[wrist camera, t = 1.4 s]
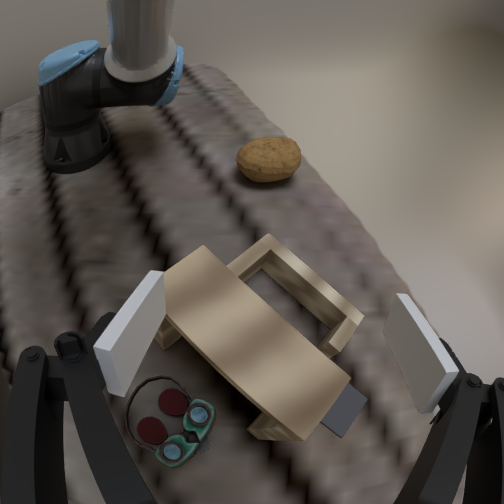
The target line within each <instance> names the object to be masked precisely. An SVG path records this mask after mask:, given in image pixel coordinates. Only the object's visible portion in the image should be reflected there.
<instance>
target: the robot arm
mask: <svg viewBox="0 0 504 504" xmlns="http://www.w3.org/2000/svg"><path fill="white" fill-rule="evenodd" d="M105 3H106V12H107V19H108V27H109V34H110V40H111V43H110V44H109V46H108V47H107V48H100V44H99V42H98V41H97V40H87V41H83V42H78V43H75V44H72V45H69V46H66V47H64V48H61V49H59V50H57V51H55V52H53V53H52V54H50V55H48V56H47V57H46V58H45V59H43V61H42V62H41V63H40V65H39V69H38V75H39V76H38V78H39V83H38V86H39V90H40V97H41V103H42V109H43V115H44V120H45V126H46V132H45V141H44V150H43V155H44V159H45V163H46V166H47V167H48V168H49V169H50V170H52V171H54V172H57V173H73V172H78V171H81V170H84V169H87V168H89V167H91V166H93V165H95V164H96V163H98V162H99V161H101V160H102V159H103V158H104V157H105V156H106V155H107V153H108V152H109V150H110V146H111V142H110V134H109V131H108V129H107V127H106V125H105V123H104V120H103V118H102V116H101V114H100V108H105V107H119V106H145V105H149V106H156V105H166V104H169V103H170V102H172V101H173V99H174V98H175V96H176V93H177V90H178V87H179V81H180V78H181V75H182V69H183V62H184V50H183V48H182V47H181V46H177V45H176V44H175V41H174V39H173V38H172V37H171V36H170V35H169V34H170V27H171V21H172V15H173V9H174V3H175V0H105ZM165 315H166V304H165V290H164V273H163V272H160V271H152V270H150V272H149V273H148V274H147V275H146V277H145V278H144V279H143V281H142V282H141V283H140V284H139V286H138V287H137V288H136V289H135V291H134V292H133V293H132V295H131V296H130V297H129V298H128V300H127V301H126V302H125V304H124V305H123V306H122V308H121V309H120V310H119V312H118V313H113V312H108V313H107V314H105V315H104V316H102V317H101V318H100V319H99V320H98V322H97V323H96V325H94V327H93V328H92V330H91V331H90V332H89V333H88V334H87V336H86V337H85V338H83V336H82V335H81V334H80V333H78V332H73V331H71V332H65V333H63V334H61V335H59V336H58V337H57V338H56V339H55V341H54V347H55V349H56V352H57V354H58V356H47V355H46V353H45V351H44V349H43V348H41V347H40V346H31V347H28V348H26V349H25V350H24V351H23V352H22V353H21V355H20V357H19V361H18V365H17V369H16V373H15V377H14V381H13V386H12V390H11V395H10V400H9V406H8V411H7V418H6V424H5V432H4V441H3V452H2V465H1V504H68V500H67V491H66V482H65V469H64V450H63V411H64V401H69V404H70V407H71V411H72V415H73V418H74V422H75V425H76V428H77V431H78V435H79V438H80V441H81V444H82V447H83V449H84V452H85V455H86V458H87V460H88V463H89V465H90V468H91V470H92V473H93V475H94V478H95V480H96V482H97V485H98V487H99V489H100V491H101V494H102V496H103V498H104V500H105V502H106V504H158V503H157V502H156V500H155V498H154V497H153V495H152V493H151V492H150V490H149V488H148V487H147V485H146V483H145V482H144V480H143V478H142V476H141V475H140V473H139V471H138V469H137V467H136V465H135V463H134V462H133V460H132V458H131V456H130V454H129V452H128V450H127V448H126V446H125V444H124V442H123V439H122V437H121V435H120V433H119V431H118V429H117V426H116V424H115V422H114V419H113V417H112V415H111V412H110V410H109V407H108V405H107V402H106V400H105V397H104V395H103V392H102V390H103V389H104V387H105V385H106V387H107V389H108V392H109V393H111V394H114V395H118V396H121V397H125V395H126V393H127V390H128V388H129V386H130V384H131V382H132V380H133V378H134V376H135V374H136V372H137V370H138V368H139V366H140V364H141V362H142V360H143V358H144V356H145V354H146V352H147V350H148V348H149V346H150V344H151V342H152V340H153V338H154V336H155V334H156V332H157V330H158V328H159V327H160V325H161V323H162V321H163V319H164V317H165ZM383 334H384V336H385V338H386V340H387V342H388V344H389V346H390V348H391V350H392V353H393V355H394V357H395V359H396V361H397V363H398V366H399V368H400V370H401V372H402V374H403V377H404V379H405V381H406V384H407V386H408V388H409V390H410V393H411V395H412V398H413V400H414V402H415V405H416V407H417V410H418V412H419V414H424V413H430V412H432V411H433V410H434V408H435V407H436V406H437V404H438V405H439V407H440V410H439V412H438V413H437V414H436V416H435V417H434V418H433V420H432V421H431V422H430V424H432V423H433V422H434V423H433V425H432V428H431V430H430V433H429V435H428V437H427V440H426V442H425V444H424V447H423V449H422V451H421V453H420V455H419V457H418V459H417V462H416V464H415V466H414V468H413V470H412V471H411V473H410V475H409V477H408V479H407V481H406V483H405V485H404V486H403V488H402V490H401V492H400V493H399V495H398V497H397V499H396V500H395V502H394V503H393V504H452V502H453V500H454V498H455V495H456V492H457V490H458V487H459V484H460V482H461V479H462V476H463V473H464V470H465V467H466V464H467V468H466V480H465V489H464V497H463V503H462V504H504V378H497V379H496V380H495V381H494V383H493V384H492V385H488V384H483V383H482V381H481V379H480V378H479V377H478V376H476V375H474V374H471V373H466V371H465V369H464V368H463V366H462V365H461V363H460V362H459V360H458V358H457V357H455V354H454V352H452V349H451V348H450V346H449V345H448V344H447V343H446V342H445V341H444V340H443V339H441V338H438V337H437V335H436V334H435V332H434V331H433V330H432V328H431V327H430V325H429V324H428V322H427V321H426V319H425V318H424V317H423V315H422V314H421V312H420V311H419V310H418V308H417V307H416V305H415V304H414V303H413V301H412V300H411V299H410V297H409V296H408V295H407V294H397V293H396V296H395V299H394V302H393V305H392V308H391V311H390V313H389V316H388V319H387V322H386V324H385V327H384V330H383ZM491 419H492V423H491Z"/></svg>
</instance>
